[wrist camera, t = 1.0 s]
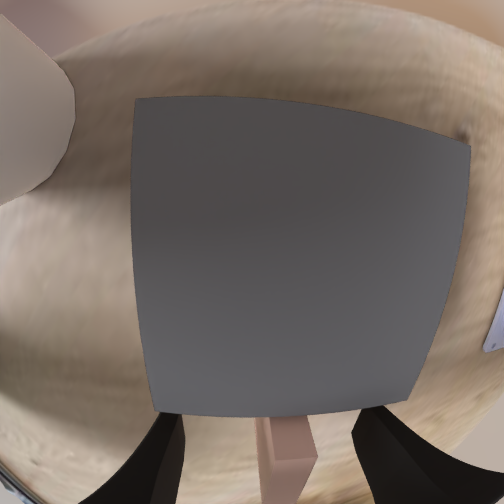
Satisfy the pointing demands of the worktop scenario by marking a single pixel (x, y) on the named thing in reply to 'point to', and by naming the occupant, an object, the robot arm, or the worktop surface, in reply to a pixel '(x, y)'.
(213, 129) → the grey square box
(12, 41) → the foam cup
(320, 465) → the worktop surface
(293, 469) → the pink stepped block
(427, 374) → the worktop surface
